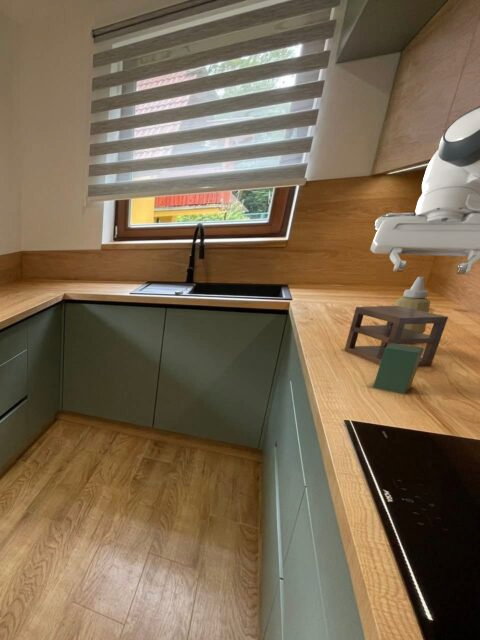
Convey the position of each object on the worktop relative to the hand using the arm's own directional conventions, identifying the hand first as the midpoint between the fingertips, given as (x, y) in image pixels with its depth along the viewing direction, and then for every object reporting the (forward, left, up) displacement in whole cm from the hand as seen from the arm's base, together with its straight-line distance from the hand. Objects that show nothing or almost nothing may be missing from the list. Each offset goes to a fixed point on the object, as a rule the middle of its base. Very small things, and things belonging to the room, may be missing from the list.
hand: (429, 271), depth 88 cm
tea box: (+5, +6, -24) cm, 25 cm away
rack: (-9, -15, -24) cm, 29 cm away
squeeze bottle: (-24, -30, -24) cm, 45 cm away
